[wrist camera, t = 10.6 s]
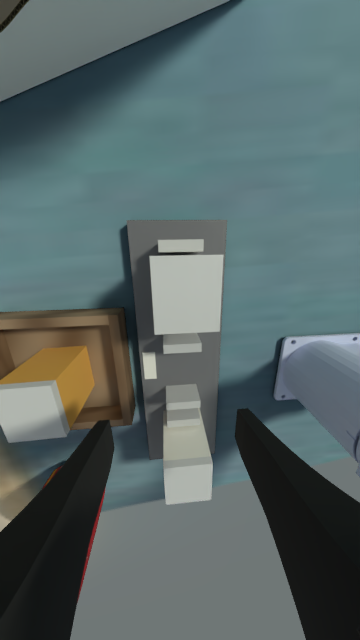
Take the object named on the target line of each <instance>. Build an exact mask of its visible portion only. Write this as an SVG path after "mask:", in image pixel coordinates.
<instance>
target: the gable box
mask: <svg viewBox="0 0 360 640" xmlns="http://www.w3.org/2000/svg"><path fill="white" fill-rule="evenodd" d="M228 1H230V0H0V102H1V101H3V100H5V99H7V98H10V97H12V96H14V95H16V94H19V93H21V92H23V91H26V90H28V89H30V88H32V87H35V86H37V85H39V84H41V83H44V82H46V81H48V80H51V79H53V78H55V77H57V76H60V75H62V74H64V73H66V72H69V71H71V70H73V69H76V68H78V67H80V66H82V65H85V64H87V63H89V62H91V61H94V60H96V59H98V58H101V57H103V56H105V55H107V54H110V53H112V52H114V51H116V50H119V49H121V48H123V47H126V46H128V45H130V44H132V43H135V42H137V41H139V40H141V39H144V38H146V37H148V36H151V35H153V34H155V33H157V32H160V31H162V30H164V29H166V28H169V27H171V26H173V25H176V24H178V23H180V22H182V21H185V20H187V19H189V18H191V17H194V16H196V15H198V14H201V13H203V12H205V11H207V10H210V9H212V8H214V7H216V6H219V5H221V4H223V3H226V2H228Z"/></svg>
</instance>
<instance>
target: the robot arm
mask: <svg viewBox="0 0 360 640" xmlns="http://www.w3.org/2000/svg"><path fill="white" fill-rule="evenodd" d="M292 340H293V342H292V343H291V341H292ZM282 395H283V396H282ZM273 396H274V398H275V399H276V400H290V399H298V400H299V402H300V403H301V404H302V405H303V406H304V407H305V408H306V409H307V410H308V411H309V412H310V413H311V414H312V415H313V416H314V417H315V418H316V419H317V420H318V421H319V422H320V423H321V425H322V426H323V427H324V428H325V429H326V430H327V431H328V432H329V433H330V434H331V435H332V436H333V437H334V438H335V439H336V440H337V441H338V442H339V443H340V444H341V445H342V447H343V448H344V449H345V450H346V451H347V452H348V453H349V454H350V455H351V456H352V457H353V458H354V459H355V460H356V461H357V462H358V463H359V466H358V469H357V471H356V474H357V475H358V476H359V477H360V333H351V334H332V335H313V336H294V337H285V338H284V339H283V341H282V347H281V353H280V359H279V365H278V371H277V377H276V383H275V389H274V395H273ZM235 438H236V442H237V445H238V448H239V451H240V455H241V457H242V460H243V462H244V465H245V467H246V469H247V472H248V474H249V476H250V479H251V481H252V484H253V486H254V488H255V491H256V493H257V495H258V498H259V500H260V502H261V505H262V507H263V510H264V512H265V515H266V517H267V519H268V523H269V526H270V528H271V532H272V534H273V537H274V540H275V543H276V546H277V549H278V552H279V555H280V558H281V561H282V564H283V567H284V570H285V573H286V576H287V579H288V582H289V585H290V589H291V592H292V595H293V599H294V602H295V605H296V608H297V611H298V614H299V618H300V620H301V624H302V628H303V631H304V634H305V638H306V640H360V503H359V502H358V501H356V500H355V499H353V498H352V497H350V496H349V495H347V494H346V493H345V492H343V491H342V490H340V489H339V488H338V487H336V486H335V485H334V484H332V483H331V482H329V481H328V480H327V479H325V478H324V477H323V476H322V475H320V474H319V473H318V472H317V471H315V470H314V469H313V468H311V467H310V466H309V465H308V464H306V463H305V462H304V461H303V460H302V459H300V458H299V457H298V456H297V455H296V454H295V453H294V452H292V451H291V450H290V449H289V448H288V447H287V446H286V445H285V444H284V443H282V442H281V441H280V440H279V439H278V438H277V437H276V436H275V435H274V434H273V433H272V432H271V431H270V430H269V429H268V428H267V427H266V426H265V425H264V424H263V423H262V422H261V421H260V420H259V419H258V418H257V417H256V416H255V415H254V414H253V413H252V412H251V411H250V410H249V409H237V419H236V430H235ZM113 452H114V442H113V436H112V431H111V425H110V420H99V421H97V422H96V424H95V425H94V426H93V428H92V429H91V430H90V432H89V433H88V434H87V436H86V437H85V438H84V440H83V441H82V442H81V444H80V445H79V446H78V447H77V449H76V450H75V451H74V452H73V454H72V455H71V456H70V457H69V459H68V460H67V461H66V462H65V464H64V465H63V466H62V467H61V468H60V469H59V471H58V472H57V473H56V474H55V475H54V476H53V478H52V479H51V480H50V481H49V482H48V483H47V484H46V486H45V487H44V488H43V489H42V490H41V491H40V492H39V493H38V494H37V495H36V497H35V498H34V499H33V500H32V501H31V502H30V503H29V504H28V505H27V506H26V507H25V508H24V509H23V510H22V511H21V512H20V513H19V514H18V515H17V516H16V517H15V518H14V519H13V520H12V521H11V522H10V523H9V524H8V525H7V526H6V527H5V528H4V529H3V530H2V531H1V532H0V640H70V636H71V631H72V626H73V620H74V615H75V610H76V605H77V600H78V596H79V591H80V586H81V581H82V576H83V571H84V567H85V562H86V558H87V553H88V548H89V544H90V539H91V536H92V532H93V528H94V524H95V521H96V517H97V514H98V511H99V507H100V504H101V500H102V497H103V493H104V490H105V486H106V483H107V479H108V476H109V472H110V468H111V463H112V458H113Z"/></svg>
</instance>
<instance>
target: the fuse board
mask: <svg viewBox="0 0 360 640" xmlns="http://www.w3.org/2000/svg"><path fill="white" fill-rule="evenodd" d="M127 229H128V240H129V250H130V260H131V271H132V281H133V291H134V302H135V312H136V323H137V333H138V343H139V354H140V364H141V375H142V385H143V395H144V406H145V416H146V427H147V437H148V447H149V458H150V460H152V459H163V411H166V410H167V428H170V427H181V426H193V425H200V415H199V411H198V408H200V412H201V416H202V420H203V425H204V429H205V433H206V437H207V441H208V445H209V449H210V454H214V453H215V436H216V417H217V398H218V379H219V361H220V342H221V323H222V305H223V286H224V267H225V249H226V230H227V220H127ZM174 255H224V256H223V276H222V296H221V315H220V332H201V333H181V334H160V335H155V333H154V318H153V302H152V287H151V272H150V257H149V256H174Z"/></svg>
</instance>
